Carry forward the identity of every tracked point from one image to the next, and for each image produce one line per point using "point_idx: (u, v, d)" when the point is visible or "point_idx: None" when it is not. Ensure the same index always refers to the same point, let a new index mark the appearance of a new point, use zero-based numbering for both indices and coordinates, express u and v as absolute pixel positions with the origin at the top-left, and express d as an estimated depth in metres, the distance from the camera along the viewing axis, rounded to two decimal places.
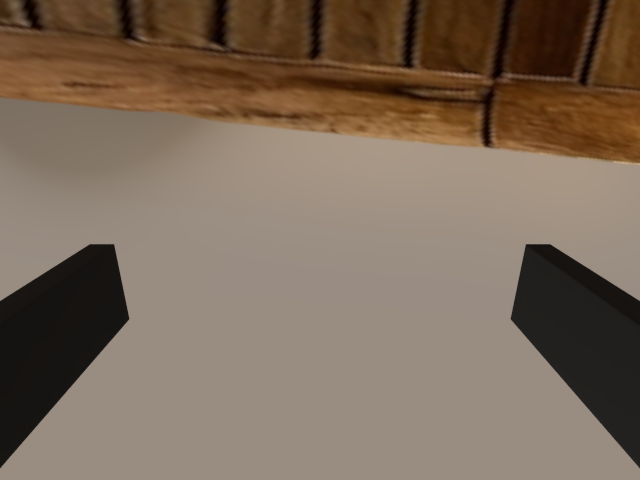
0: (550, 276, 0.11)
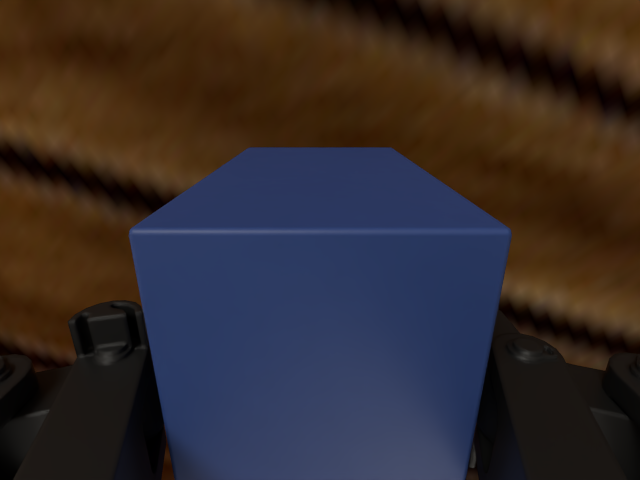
0: None
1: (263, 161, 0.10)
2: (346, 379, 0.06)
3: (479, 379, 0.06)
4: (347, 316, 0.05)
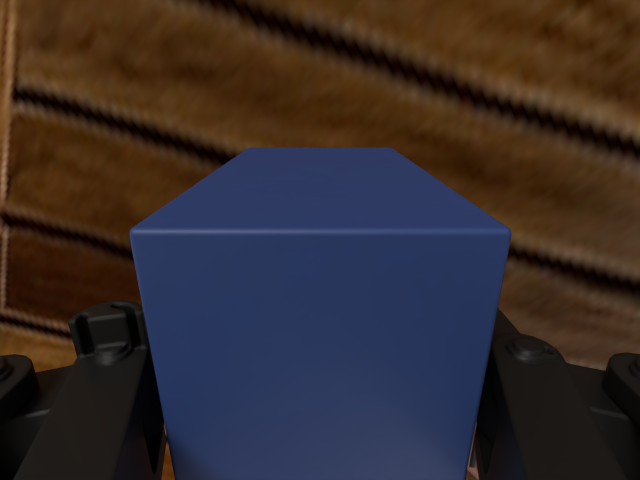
0: None
1: (263, 161, 0.10)
2: (346, 380, 0.06)
3: (479, 379, 0.06)
4: (347, 315, 0.05)
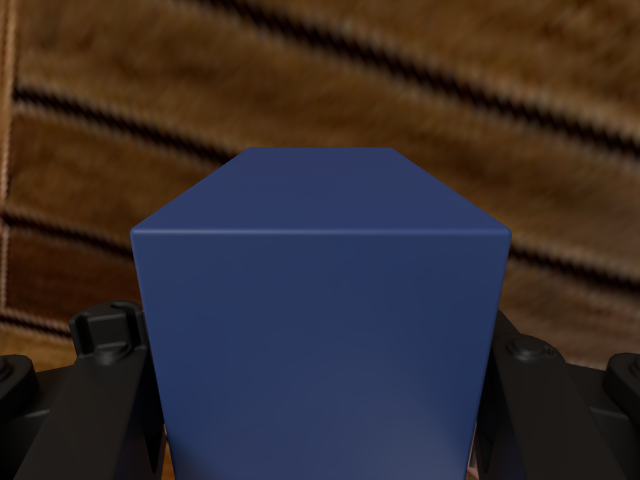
0: None
1: (263, 161, 0.10)
2: (346, 380, 0.06)
3: (479, 379, 0.06)
4: (348, 316, 0.05)
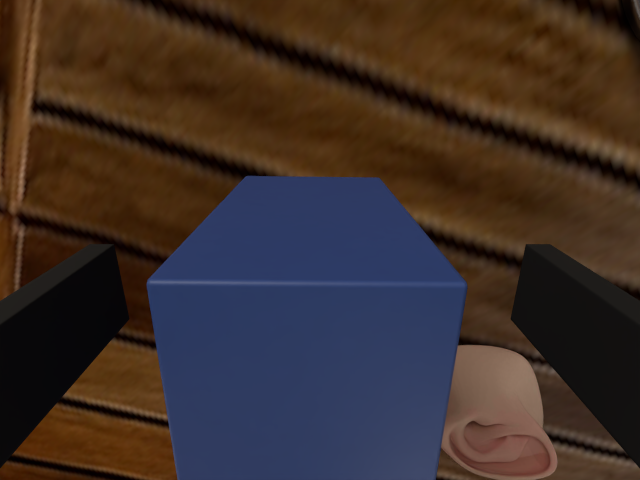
0: (550, 276, 0.11)
1: (260, 196, 0.11)
2: (330, 405, 0.07)
3: (443, 405, 0.07)
4: (330, 352, 0.06)
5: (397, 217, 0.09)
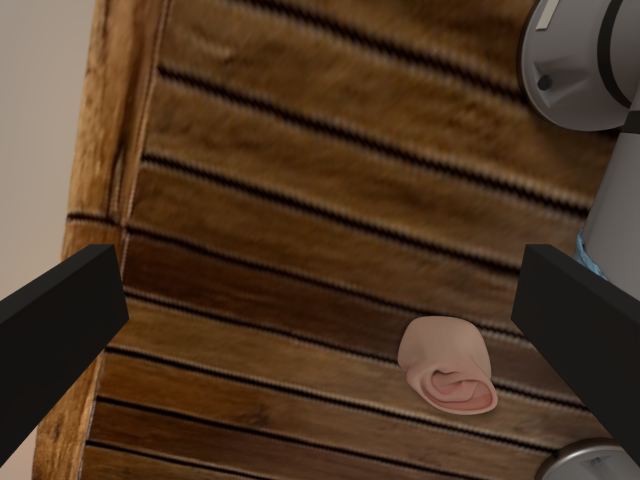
0: (550, 276, 0.11)
1: None
2: None
3: None
4: None
5: None
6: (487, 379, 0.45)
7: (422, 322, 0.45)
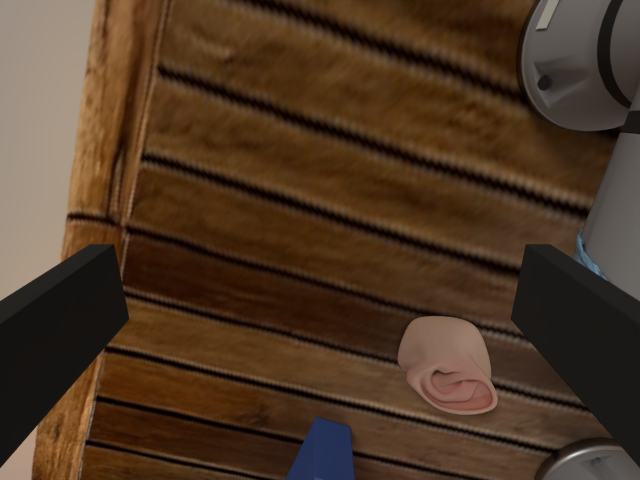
0: (550, 276, 0.11)
1: (322, 438, 0.49)
2: None
3: None
4: None
5: (350, 460, 0.47)
6: (487, 379, 0.45)
7: (422, 322, 0.45)
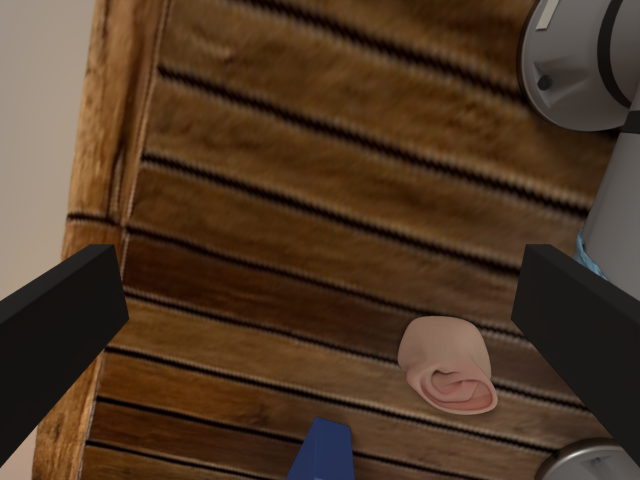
0: (550, 276, 0.11)
1: (322, 438, 0.49)
2: None
3: None
4: None
5: (350, 460, 0.47)
6: (487, 379, 0.45)
7: (422, 322, 0.45)
